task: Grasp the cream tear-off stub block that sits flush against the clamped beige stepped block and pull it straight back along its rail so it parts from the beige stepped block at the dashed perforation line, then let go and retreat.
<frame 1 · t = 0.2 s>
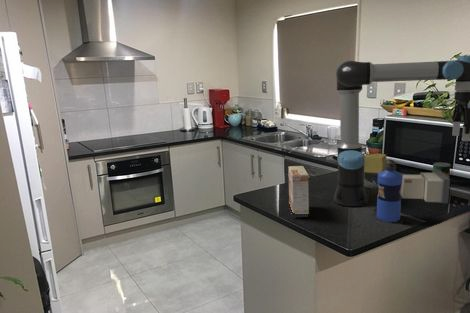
hand: (460, 138, 168), 28 cm above the worktop, fingers open, 13 cm apart
stub: (412, 186, 175), point 5 cm above the worktop, slide at 0.0 cm
water bottle: (388, 219, 153), on the worktop
beige stepped block: (432, 197, 174), on the worktop
coffeecake box: (298, 212, 165), on the worktop
cheese: (375, 171, 222), on the worktop
canned tomato: (440, 185, 191), on the worktop
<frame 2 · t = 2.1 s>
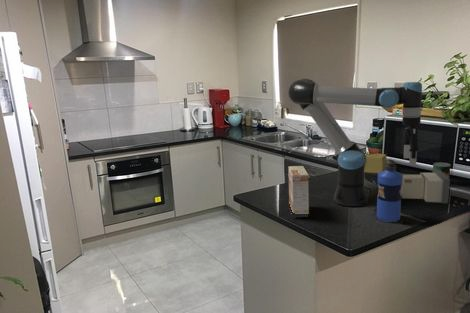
hand: (409, 161, 173), 17 cm above the worktop, fingers open, 13 cm apart
nothing on the worktop moved.
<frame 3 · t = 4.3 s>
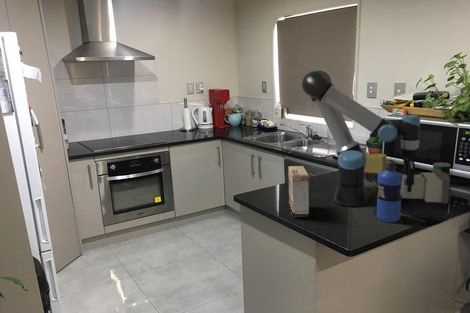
hand: (407, 195, 177), 0 cm above the worktop, fingers closed on stub, 6 cm apart
stub: (412, 186, 175), point 5 cm above the worktop, slide at 0.0 cm, touching gripper
everything else where it was.
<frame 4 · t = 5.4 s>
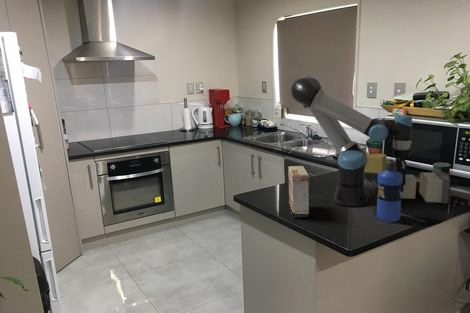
hand: (399, 195, 178), 0 cm above the worktop, fingers closed on stub, 6 cm apart
stub: (404, 186, 176), point 5 cm above the worktop, slide at 3.6 cm, touching gripper
everything else where it was.
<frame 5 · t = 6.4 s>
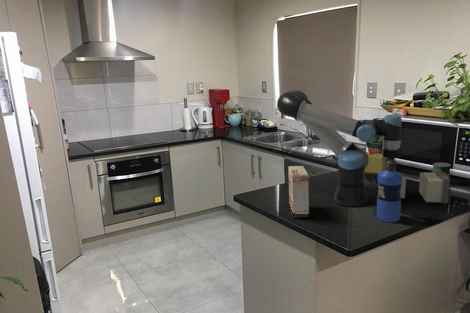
hand: (389, 194, 179), 0 cm above the worktop, fingers closed on stub, 6 cm apart
stub: (394, 185, 177), point 5 cm above the worktop, slide at 8.0 cm, touching gripper
everything else where it was.
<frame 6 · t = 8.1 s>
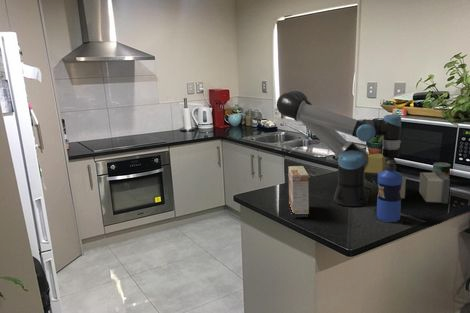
hand: (389, 191, 178), 2 cm above the worktop, fingers open, 13 cm apart
stub: (393, 185, 177), point 5 cm above the worktop, slide at 8.1 cm
everything else where it was.
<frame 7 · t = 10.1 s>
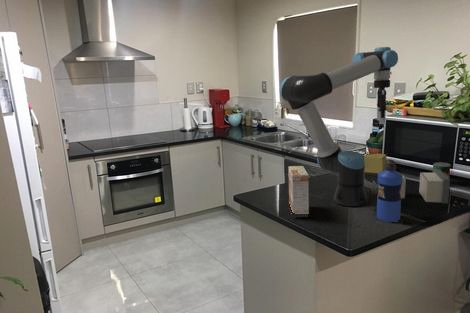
hand: (380, 122, 187), 34 cm above the worktop, fingers open, 13 cm apart
nothing on the worktop moved.
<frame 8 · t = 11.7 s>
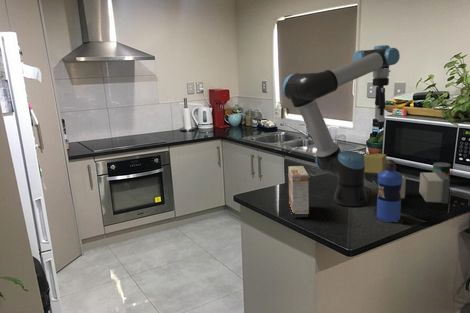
hand: (379, 119, 189), 35 cm above the worktop, fingers open, 13 cm apart
nothing on the worktop moved.
at the end: stub slide at 8.1 cm; the gripper is holding nothing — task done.
